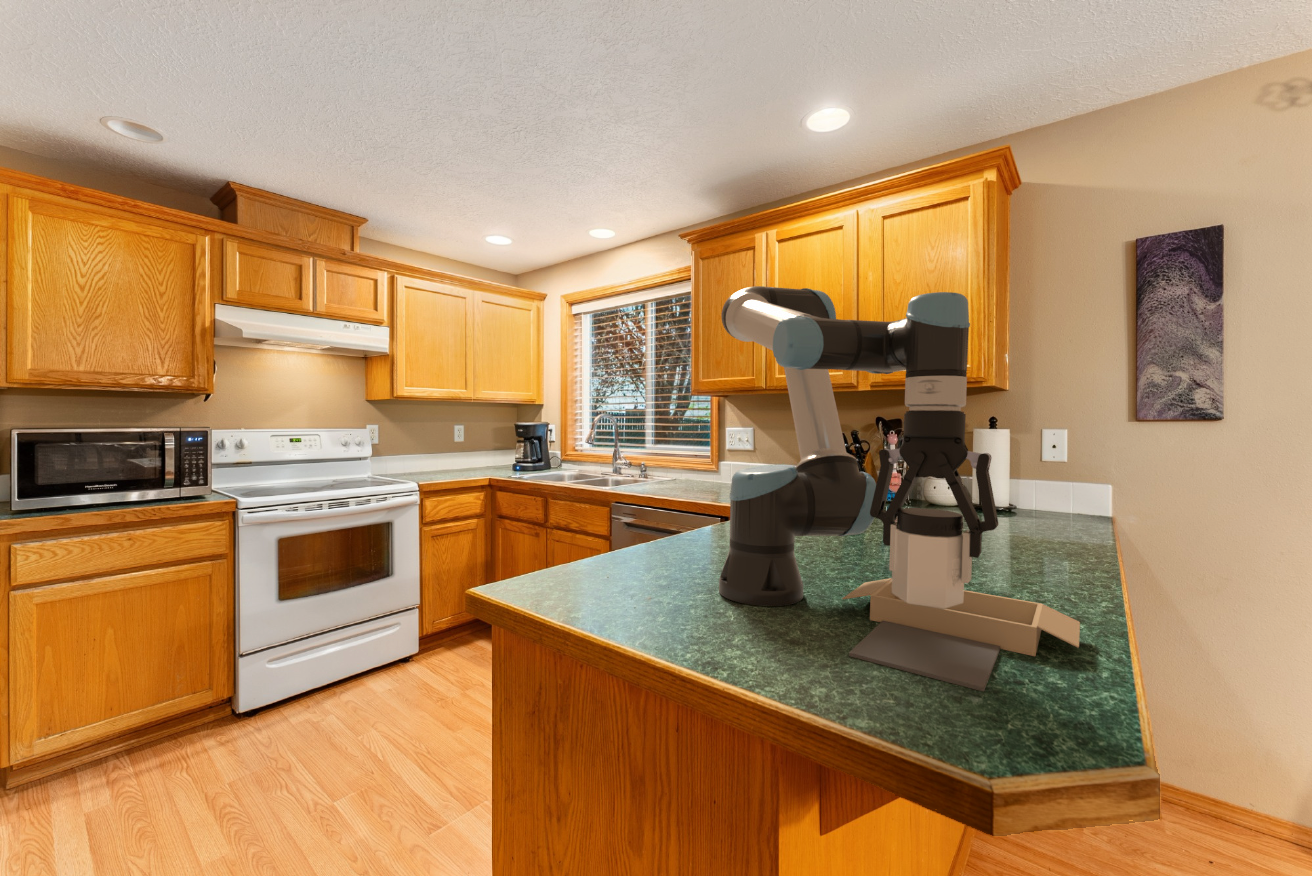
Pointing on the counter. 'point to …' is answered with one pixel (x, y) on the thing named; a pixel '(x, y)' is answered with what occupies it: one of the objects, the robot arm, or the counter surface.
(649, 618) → the counter surface
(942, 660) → the mat
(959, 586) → the jar
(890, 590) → the carton
